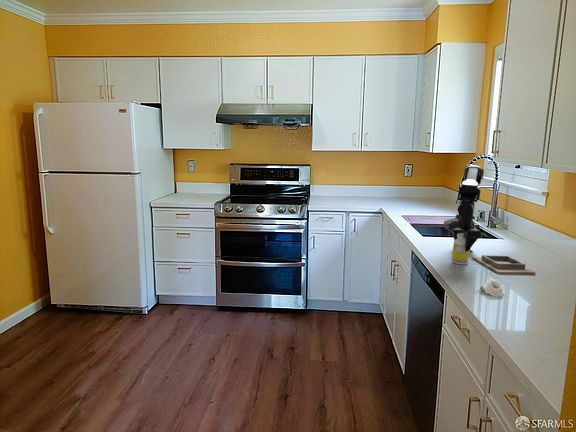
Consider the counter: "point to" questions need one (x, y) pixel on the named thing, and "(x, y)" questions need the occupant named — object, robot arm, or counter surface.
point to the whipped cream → (493, 288)
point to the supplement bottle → (460, 251)
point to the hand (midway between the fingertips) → (461, 248)
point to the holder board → (503, 265)
